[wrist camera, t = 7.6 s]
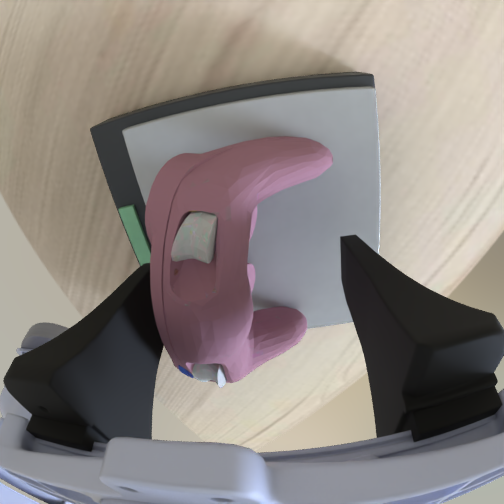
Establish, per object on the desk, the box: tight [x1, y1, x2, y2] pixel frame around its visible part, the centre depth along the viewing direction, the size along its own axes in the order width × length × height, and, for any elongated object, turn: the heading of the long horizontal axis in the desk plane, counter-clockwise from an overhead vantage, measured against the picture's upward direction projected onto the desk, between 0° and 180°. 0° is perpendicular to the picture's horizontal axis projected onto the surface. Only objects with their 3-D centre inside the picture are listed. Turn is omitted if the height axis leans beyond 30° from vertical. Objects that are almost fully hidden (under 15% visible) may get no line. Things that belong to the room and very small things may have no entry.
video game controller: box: [145, 136, 333, 388], centre depth 12 cm, size 10×5×7 cm
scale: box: [90, 72, 380, 329], centre depth 15 cm, size 12×13×3 cm
